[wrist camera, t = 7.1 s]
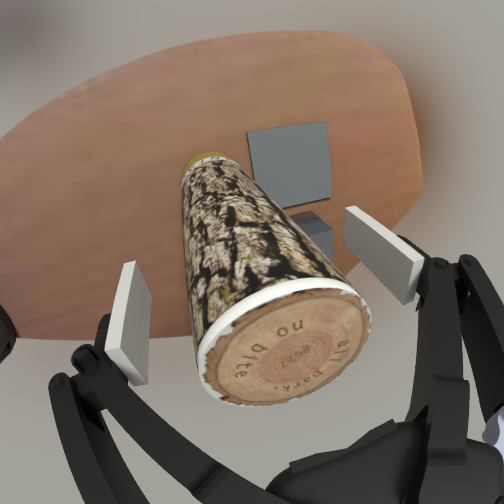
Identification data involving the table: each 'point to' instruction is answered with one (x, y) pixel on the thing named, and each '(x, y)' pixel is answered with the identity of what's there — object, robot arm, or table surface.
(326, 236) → the block
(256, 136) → the mat
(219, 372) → the paper tube
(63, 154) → the table surface
